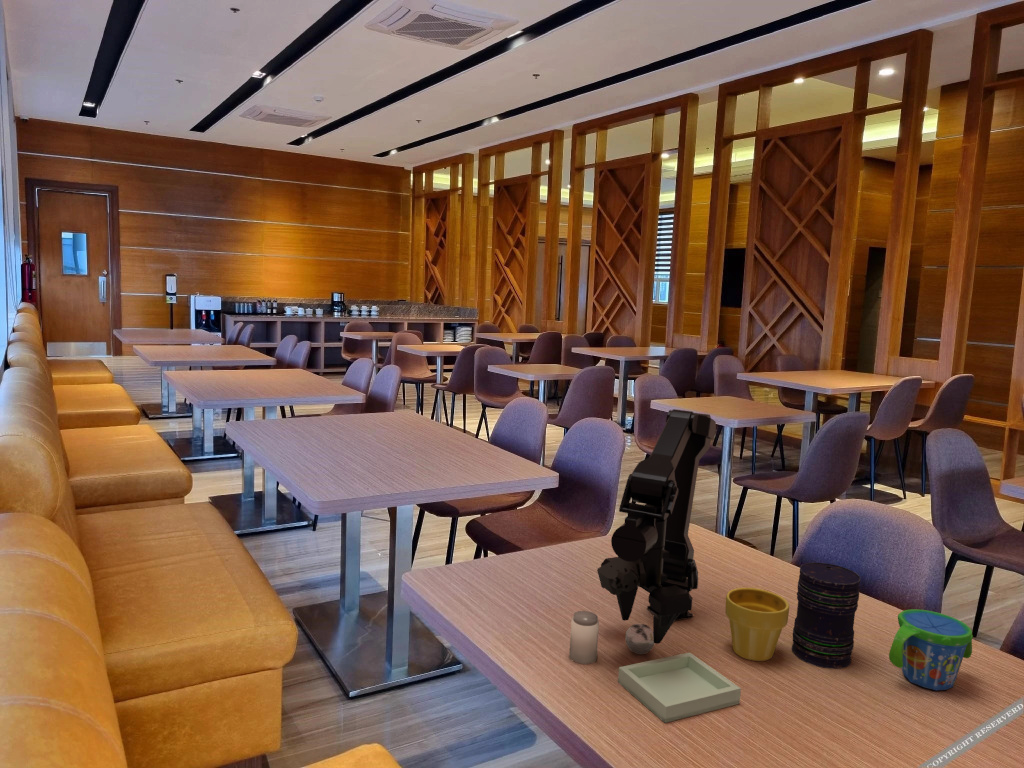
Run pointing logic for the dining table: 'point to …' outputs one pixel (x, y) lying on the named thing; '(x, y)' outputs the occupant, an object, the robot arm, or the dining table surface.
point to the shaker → (584, 637)
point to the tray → (678, 686)
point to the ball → (639, 638)
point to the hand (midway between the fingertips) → (640, 631)
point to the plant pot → (755, 621)
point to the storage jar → (825, 615)
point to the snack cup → (930, 648)
